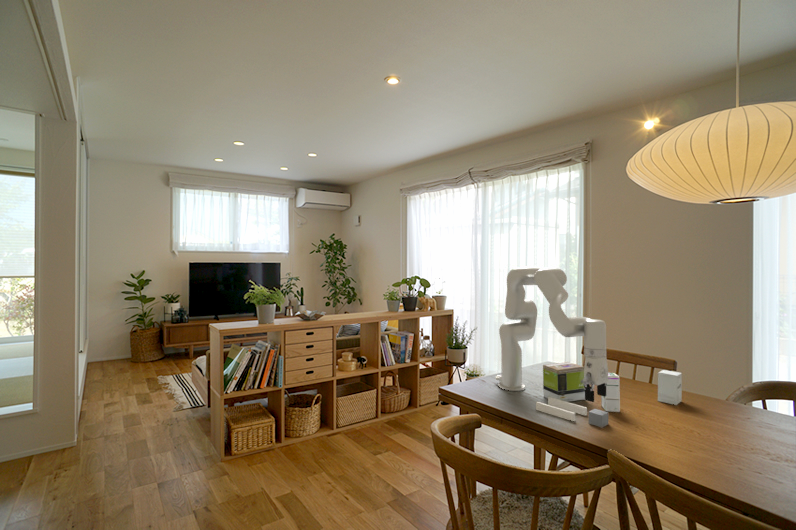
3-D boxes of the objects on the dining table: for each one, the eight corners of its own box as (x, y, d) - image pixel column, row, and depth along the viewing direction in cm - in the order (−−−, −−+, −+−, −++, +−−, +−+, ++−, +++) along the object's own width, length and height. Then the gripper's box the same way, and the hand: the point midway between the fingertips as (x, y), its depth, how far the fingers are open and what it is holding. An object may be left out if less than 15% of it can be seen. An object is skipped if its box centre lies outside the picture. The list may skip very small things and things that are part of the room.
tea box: (569, 393, 186) (569, 361, 186) (586, 400, 176) (586, 366, 176) (542, 396, 181) (542, 363, 181) (557, 403, 172) (557, 369, 172)
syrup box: (620, 412, 162) (620, 376, 162) (604, 411, 163) (604, 375, 163) (615, 407, 167) (615, 372, 167) (600, 406, 169) (600, 371, 169)
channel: (535, 409, 165) (535, 402, 165) (549, 404, 171) (549, 396, 171) (573, 421, 152) (573, 413, 152) (586, 415, 159) (586, 407, 159)
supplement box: (677, 405, 170) (677, 375, 169) (657, 401, 175) (657, 372, 175) (682, 401, 174) (682, 372, 174) (662, 397, 180) (662, 369, 180)
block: (588, 423, 151) (588, 411, 151) (594, 420, 154) (594, 408, 154) (602, 427, 147) (602, 415, 147) (608, 424, 150) (608, 412, 150)
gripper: (594, 357, 143) (595, 405, 143) (615, 351, 154) (616, 396, 153) (574, 354, 149) (574, 400, 148) (595, 348, 159) (596, 391, 159)
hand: (595, 398), depth 151 cm, fingers open, 9 cm apart
